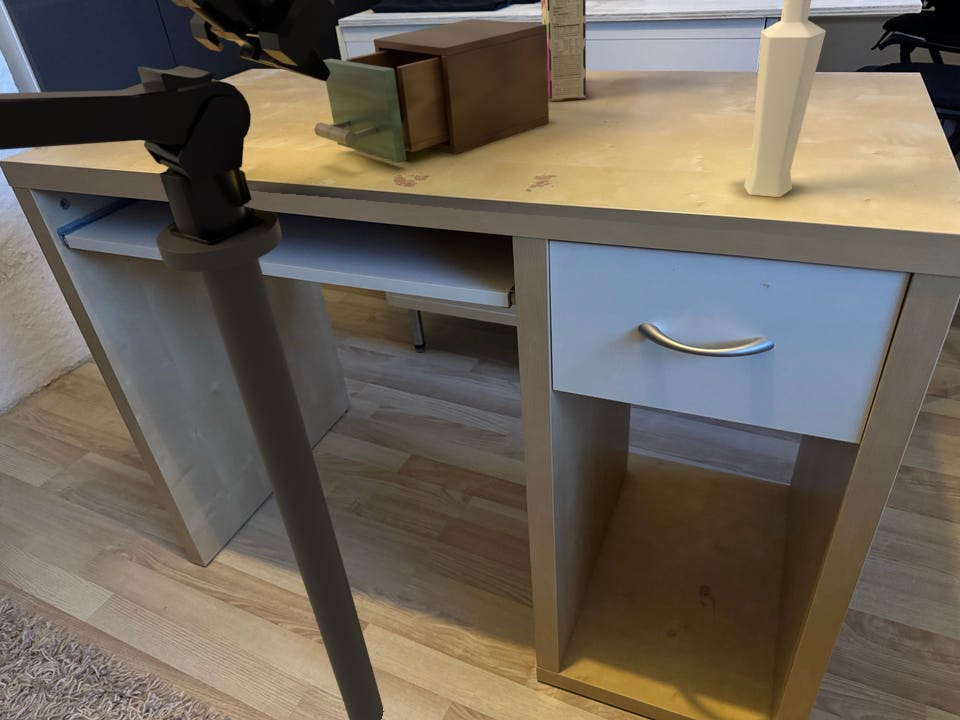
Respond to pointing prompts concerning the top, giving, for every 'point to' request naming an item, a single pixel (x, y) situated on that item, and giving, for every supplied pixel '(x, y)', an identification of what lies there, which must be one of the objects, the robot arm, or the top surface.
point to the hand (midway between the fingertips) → (326, 76)
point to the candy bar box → (565, 48)
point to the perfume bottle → (782, 96)
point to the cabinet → (485, 77)
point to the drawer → (387, 103)
